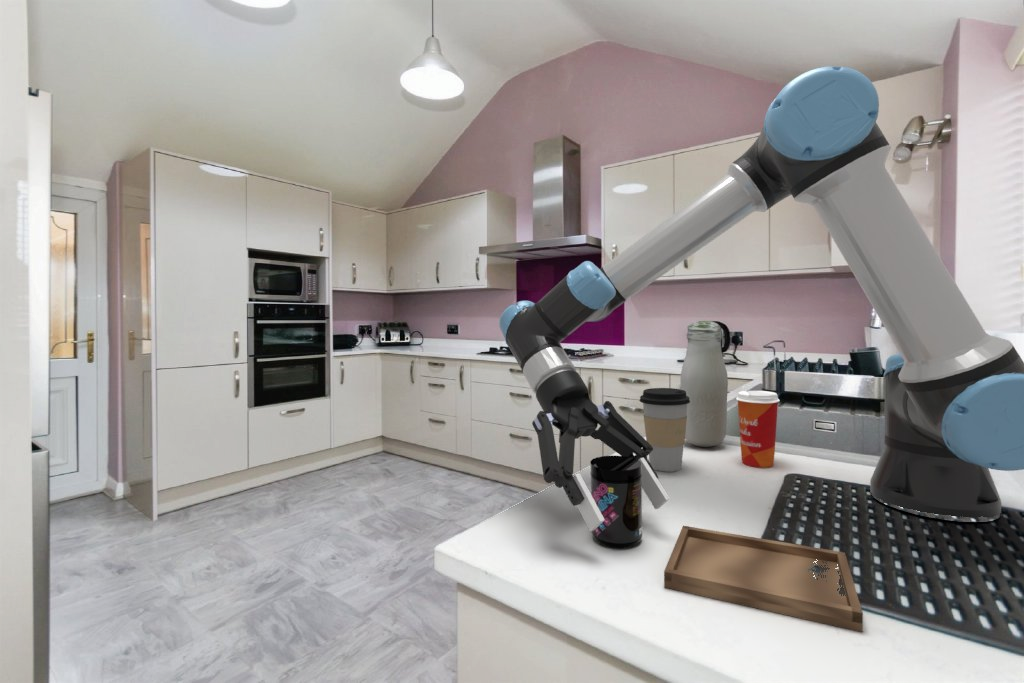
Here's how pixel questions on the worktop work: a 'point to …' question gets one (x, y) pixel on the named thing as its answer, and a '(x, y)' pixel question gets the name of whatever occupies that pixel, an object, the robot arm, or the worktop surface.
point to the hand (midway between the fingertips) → (631, 514)
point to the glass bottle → (705, 385)
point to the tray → (764, 576)
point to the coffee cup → (665, 426)
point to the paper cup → (757, 427)
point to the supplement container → (617, 500)
